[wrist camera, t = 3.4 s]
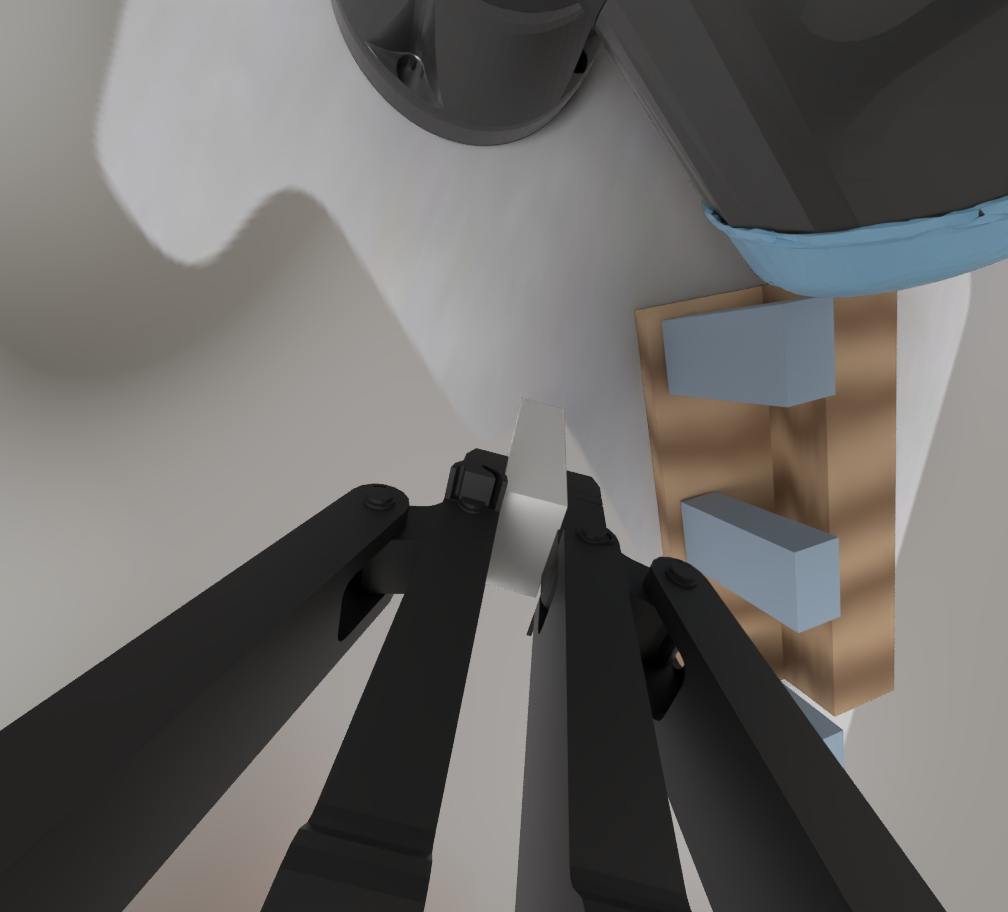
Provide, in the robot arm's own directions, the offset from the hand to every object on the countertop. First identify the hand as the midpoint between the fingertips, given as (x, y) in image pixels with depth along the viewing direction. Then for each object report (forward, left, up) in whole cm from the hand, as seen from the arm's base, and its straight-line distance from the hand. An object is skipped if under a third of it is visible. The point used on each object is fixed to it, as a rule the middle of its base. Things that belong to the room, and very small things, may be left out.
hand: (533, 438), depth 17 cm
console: (+13, +22, -15) cm, 29 cm away
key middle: (+13, +16, -13) cm, 24 cm away
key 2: (0, +16, -13) cm, 21 cm away
